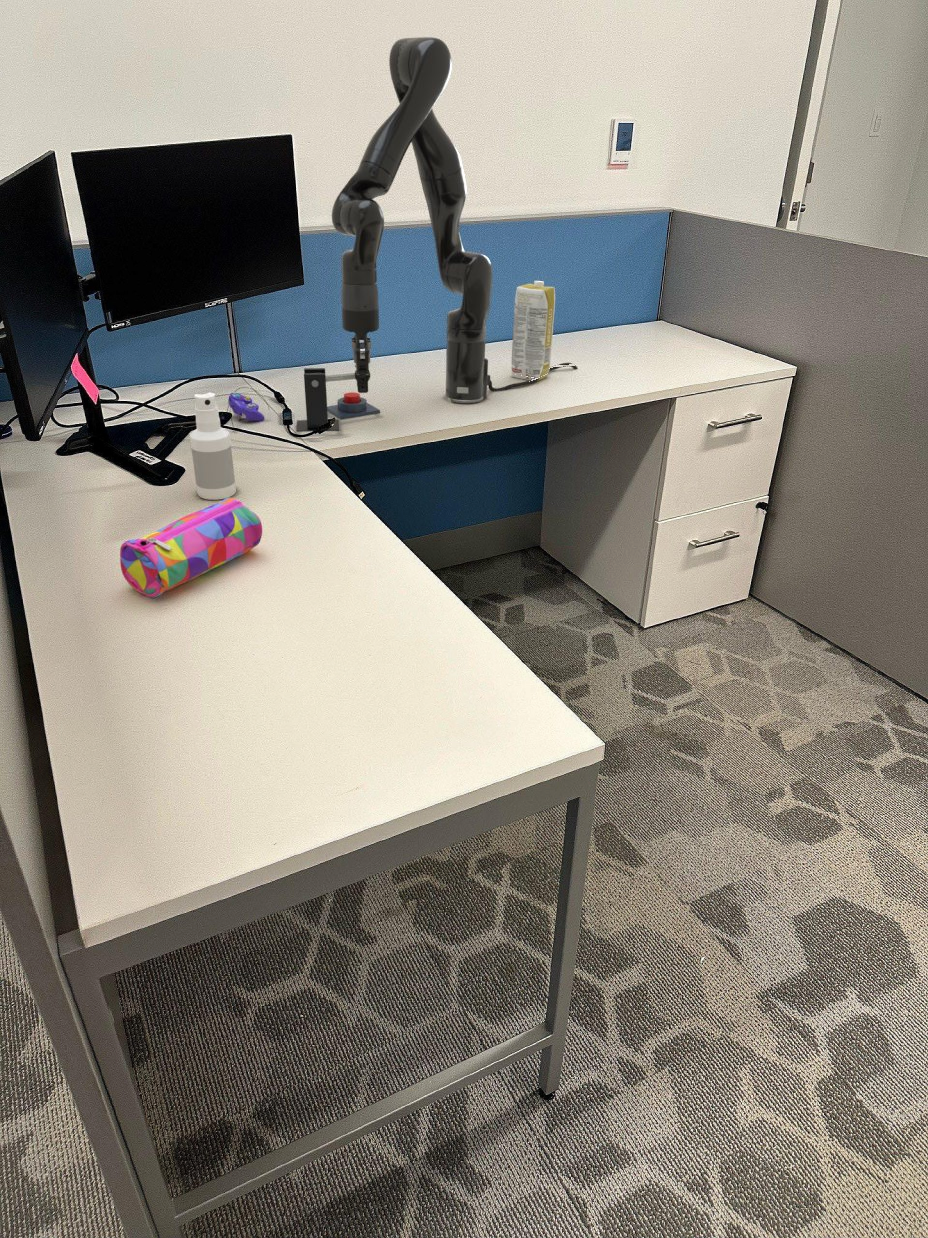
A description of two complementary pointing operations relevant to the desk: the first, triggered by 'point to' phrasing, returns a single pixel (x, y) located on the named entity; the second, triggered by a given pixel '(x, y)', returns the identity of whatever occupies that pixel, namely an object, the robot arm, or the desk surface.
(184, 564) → the pencil case
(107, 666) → the desk surface
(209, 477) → the spray bottle
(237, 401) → the game controller
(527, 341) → the juice carton
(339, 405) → the button box
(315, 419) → the switch bracket
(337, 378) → the switch lever
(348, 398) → the stop button
